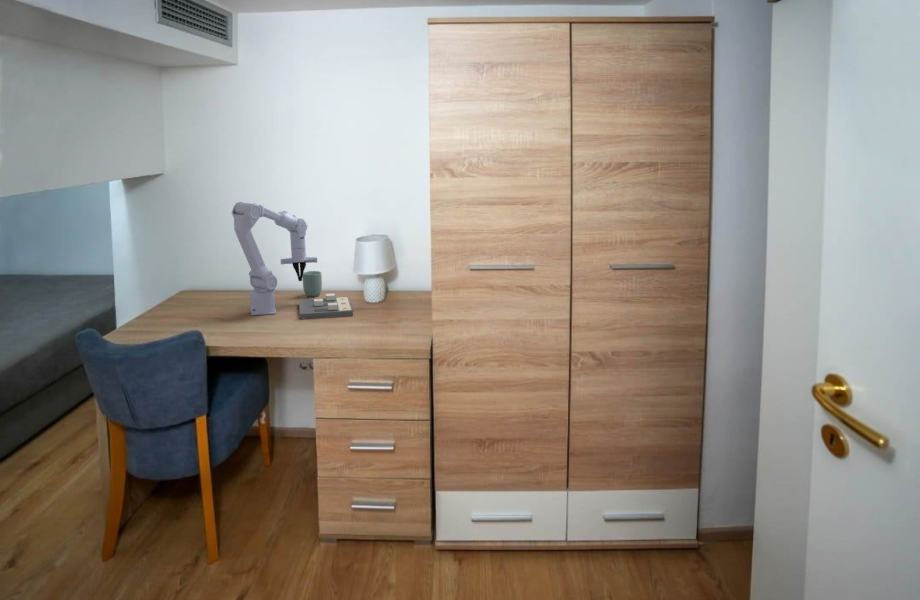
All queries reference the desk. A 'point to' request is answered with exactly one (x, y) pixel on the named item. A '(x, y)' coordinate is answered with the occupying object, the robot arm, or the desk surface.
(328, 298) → the switch tab
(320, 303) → the switch tab
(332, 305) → the white cube
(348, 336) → the desk surface
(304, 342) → the desk surface
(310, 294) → the cup
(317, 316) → the switch board
